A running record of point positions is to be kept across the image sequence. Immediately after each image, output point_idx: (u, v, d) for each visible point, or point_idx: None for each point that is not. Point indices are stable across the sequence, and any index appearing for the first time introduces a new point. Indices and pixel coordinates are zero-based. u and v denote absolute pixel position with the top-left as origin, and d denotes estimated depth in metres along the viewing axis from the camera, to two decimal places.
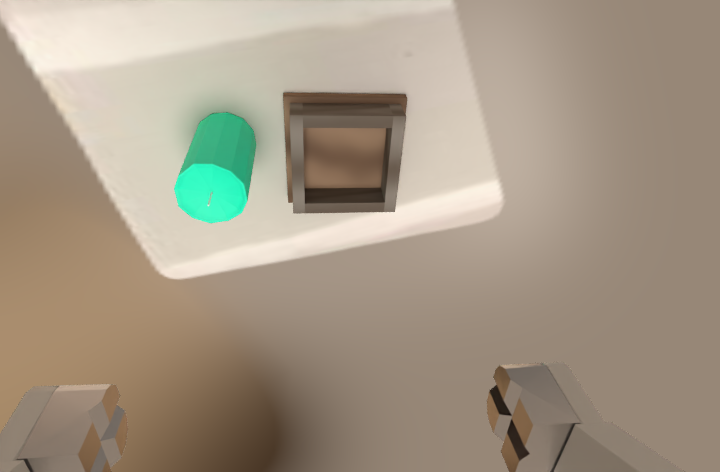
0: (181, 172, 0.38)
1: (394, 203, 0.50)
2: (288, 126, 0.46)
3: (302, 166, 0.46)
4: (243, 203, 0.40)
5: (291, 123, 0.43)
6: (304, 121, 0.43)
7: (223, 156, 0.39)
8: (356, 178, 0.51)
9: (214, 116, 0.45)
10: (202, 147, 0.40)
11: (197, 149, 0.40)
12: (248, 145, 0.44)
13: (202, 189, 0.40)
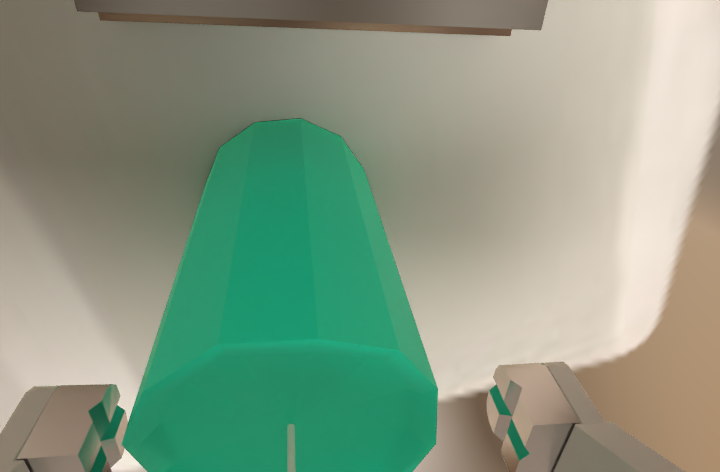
0: None
1: None
2: None
3: None
4: (336, 352, 0.08)
5: (113, 5, 0.10)
6: None
7: (155, 345, 0.09)
8: None
9: None
10: None
11: None
12: (238, 174, 0.13)
13: (276, 450, 0.10)
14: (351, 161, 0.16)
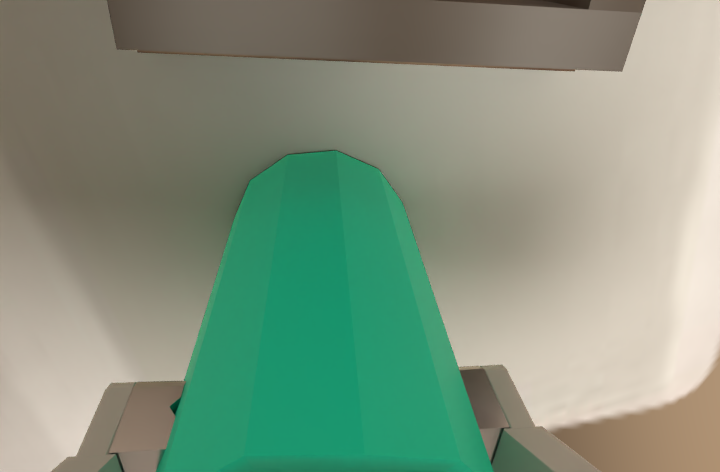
0: None
1: None
2: None
3: (381, 5, 0.09)
4: (385, 467, 0.06)
5: (156, 43, 0.09)
6: None
7: None
8: None
9: None
10: None
11: None
12: (269, 218, 0.12)
13: None
14: (391, 198, 0.14)
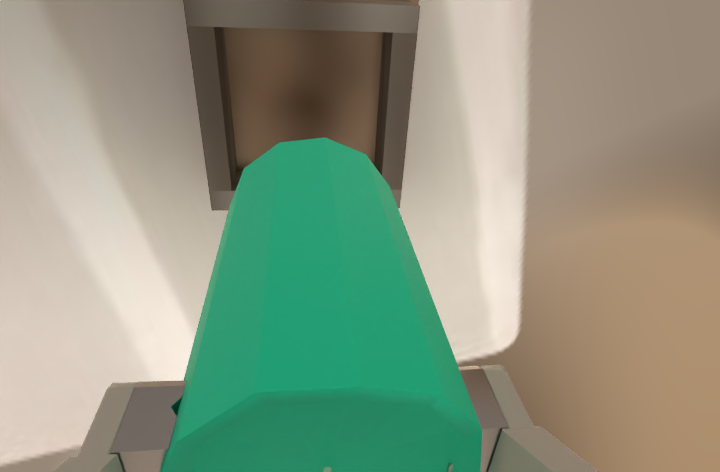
0: None
1: (397, 8, 0.22)
2: None
3: None
4: (378, 399, 0.07)
5: (225, 207, 0.27)
6: (219, 188, 0.26)
7: None
8: (358, 77, 0.26)
9: None
10: None
11: None
12: (265, 200, 0.13)
13: None
14: (378, 180, 0.15)
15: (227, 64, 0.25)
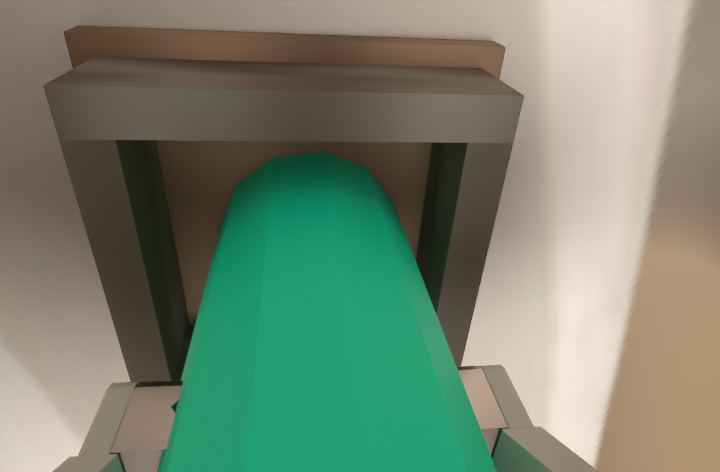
0: None
1: (480, 101, 0.11)
2: None
3: None
4: None
5: None
6: None
7: None
8: (389, 191, 0.16)
9: None
10: None
11: None
12: (258, 224, 0.11)
13: None
14: (381, 198, 0.14)
15: (163, 177, 0.14)
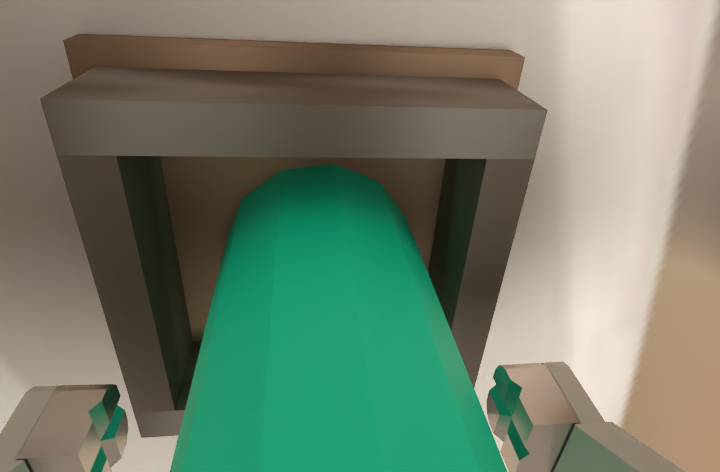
0: None
1: (501, 115, 0.11)
2: None
3: None
4: None
5: (166, 432, 0.15)
6: (152, 408, 0.14)
7: None
8: (401, 205, 0.15)
9: None
10: None
11: None
12: (266, 245, 0.11)
13: None
14: (394, 213, 0.13)
15: (166, 190, 0.14)
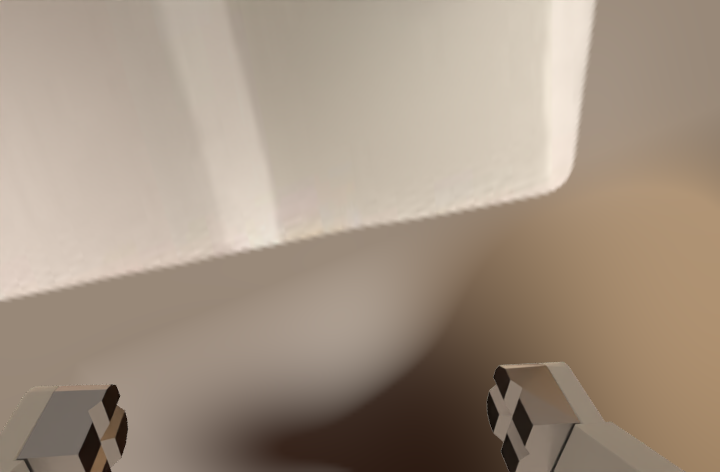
0: None
1: None
2: None
3: None
4: None
5: None
6: None
7: None
8: None
9: None
10: None
11: None
12: None
13: None
14: None
15: None
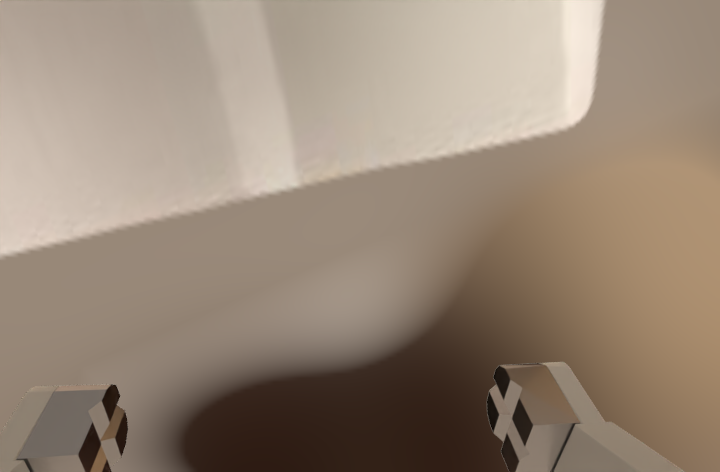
0: None
1: None
2: None
3: None
4: None
5: None
6: None
7: None
8: None
9: None
10: None
11: None
12: None
13: None
14: None
15: None
